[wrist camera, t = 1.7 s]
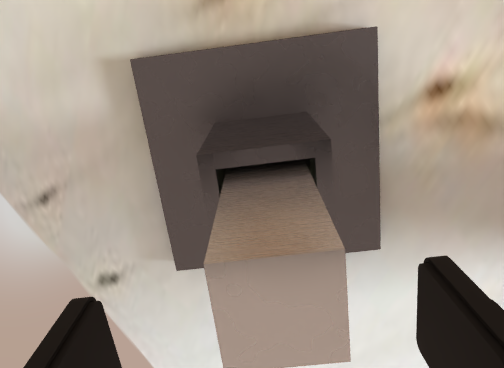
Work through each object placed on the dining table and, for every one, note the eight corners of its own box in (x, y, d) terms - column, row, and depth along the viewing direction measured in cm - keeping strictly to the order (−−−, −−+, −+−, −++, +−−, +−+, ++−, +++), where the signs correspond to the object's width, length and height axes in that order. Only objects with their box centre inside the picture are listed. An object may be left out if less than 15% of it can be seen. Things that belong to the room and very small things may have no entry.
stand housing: (370, 27, 25) (439, 13, 16) (374, 240, 30) (428, 324, 21) (136, 59, 26) (69, 63, 17) (180, 260, 31) (147, 351, 22)
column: (292, 130, 26) (348, 245, 10) (298, 187, 27) (353, 363, 12) (232, 137, 26) (199, 261, 11) (240, 194, 27) (221, 375, 12)
